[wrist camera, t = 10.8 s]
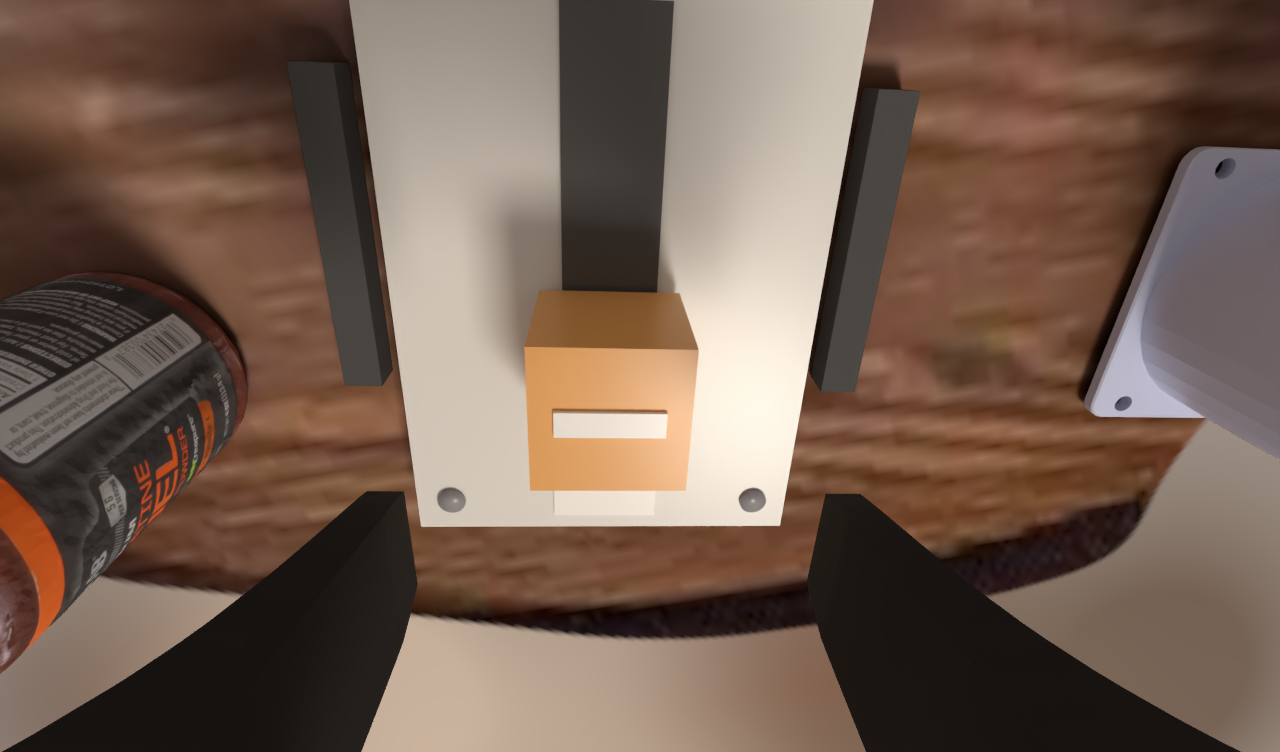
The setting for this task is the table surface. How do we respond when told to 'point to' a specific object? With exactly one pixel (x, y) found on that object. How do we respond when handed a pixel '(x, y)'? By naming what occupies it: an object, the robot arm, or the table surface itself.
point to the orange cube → (609, 391)
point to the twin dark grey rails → (354, 262)
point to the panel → (605, 222)
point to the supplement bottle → (98, 431)
